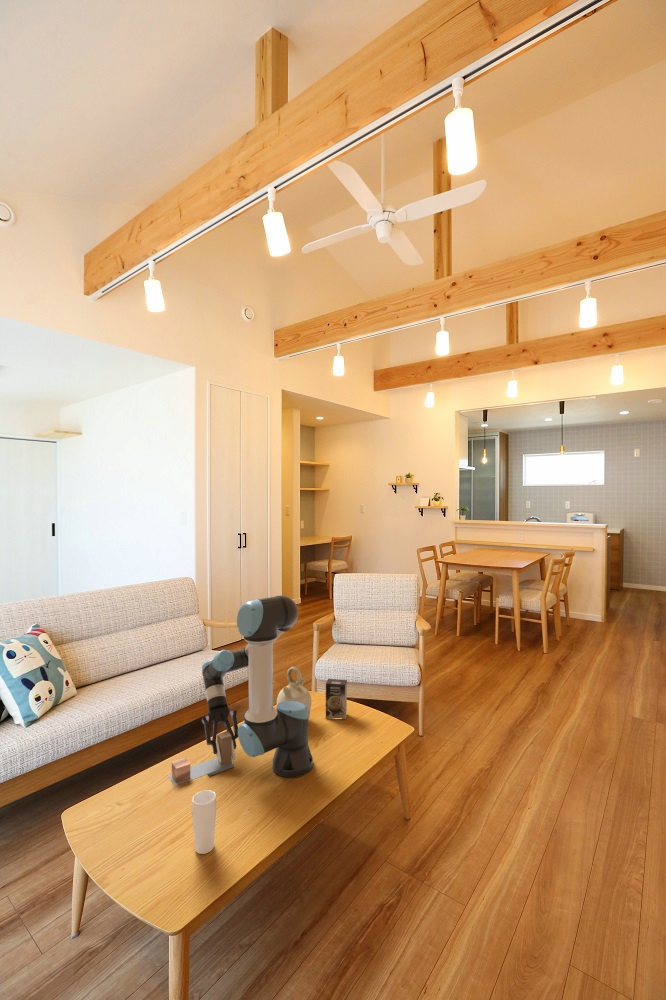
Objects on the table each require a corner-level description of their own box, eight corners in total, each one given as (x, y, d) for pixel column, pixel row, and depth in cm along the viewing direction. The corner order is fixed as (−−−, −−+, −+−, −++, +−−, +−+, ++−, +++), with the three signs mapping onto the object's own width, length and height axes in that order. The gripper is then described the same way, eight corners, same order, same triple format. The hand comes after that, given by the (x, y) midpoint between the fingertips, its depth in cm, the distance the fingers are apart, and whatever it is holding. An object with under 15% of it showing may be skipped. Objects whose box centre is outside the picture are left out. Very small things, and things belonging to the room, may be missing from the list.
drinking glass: (195, 840, 140) (194, 790, 140) (218, 839, 141) (218, 789, 141) (190, 858, 134) (189, 805, 133) (214, 856, 134) (214, 804, 134)
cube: (190, 777, 169) (190, 763, 169) (176, 782, 166) (176, 768, 166) (185, 771, 173) (185, 757, 173) (171, 775, 170) (171, 762, 170)
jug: (299, 711, 222) (299, 658, 222) (318, 724, 210) (318, 668, 209) (270, 721, 213) (270, 665, 213) (288, 735, 201) (288, 676, 200)
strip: (233, 766, 178) (233, 737, 177) (174, 788, 165) (174, 757, 164) (225, 757, 184) (224, 729, 184) (167, 777, 171) (167, 747, 171)
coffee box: (325, 719, 215) (325, 683, 215) (327, 712, 221) (327, 678, 221) (345, 720, 213) (345, 684, 213) (347, 713, 220) (347, 679, 220)
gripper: (236, 698, 197) (248, 758, 183) (192, 707, 189) (201, 770, 175) (239, 690, 192) (252, 751, 178) (195, 699, 184) (204, 763, 170)
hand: (226, 760), depth 176 cm, fingers closed on strip, 5 cm apart
